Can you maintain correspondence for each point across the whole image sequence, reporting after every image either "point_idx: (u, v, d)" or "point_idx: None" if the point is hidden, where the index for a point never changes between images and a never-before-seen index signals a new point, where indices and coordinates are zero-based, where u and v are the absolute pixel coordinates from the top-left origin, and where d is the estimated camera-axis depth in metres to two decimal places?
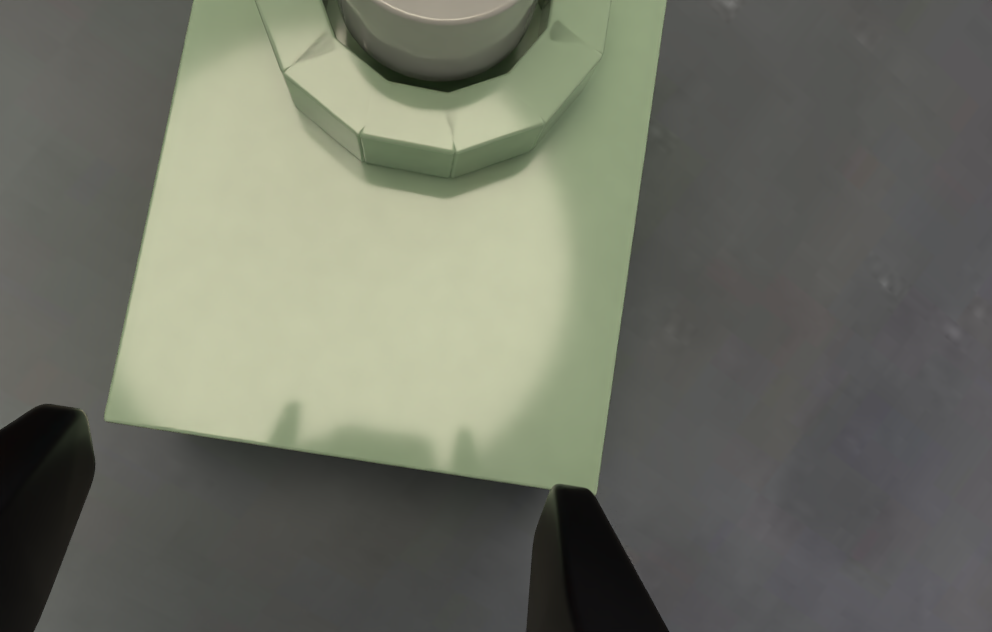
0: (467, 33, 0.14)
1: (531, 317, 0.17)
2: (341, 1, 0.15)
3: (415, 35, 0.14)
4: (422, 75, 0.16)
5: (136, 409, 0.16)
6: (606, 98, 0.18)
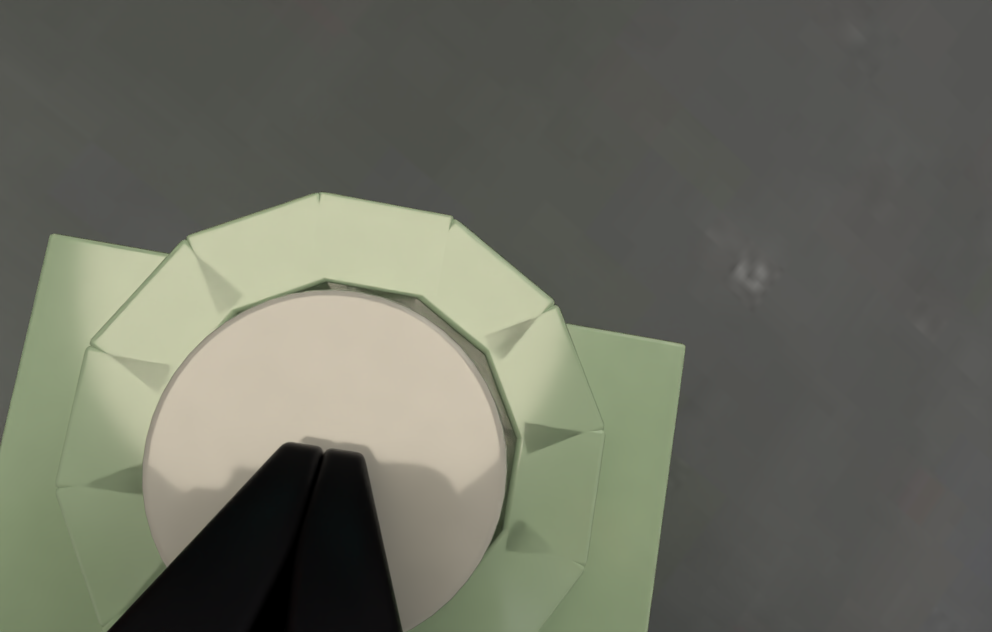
0: None
1: None
2: None
3: None
4: None
5: None
6: (593, 555, 0.13)
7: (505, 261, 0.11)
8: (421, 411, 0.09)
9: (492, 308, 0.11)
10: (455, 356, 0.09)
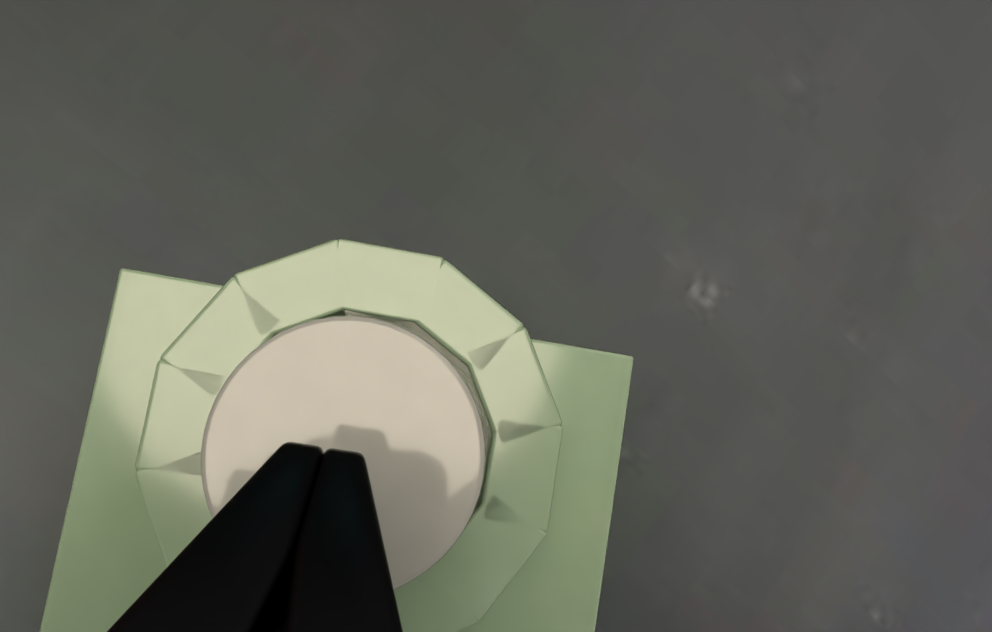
0: None
1: None
2: None
3: None
4: None
5: None
6: (557, 527, 0.16)
7: (484, 293, 0.14)
8: (417, 410, 0.12)
9: (474, 330, 0.14)
10: (444, 368, 0.12)
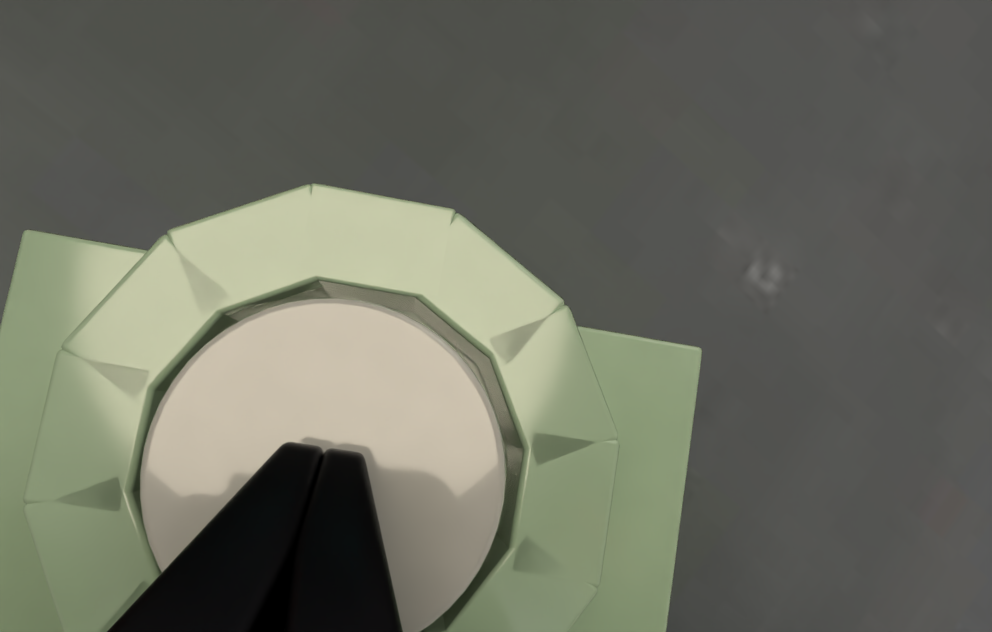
0: None
1: None
2: None
3: None
4: None
5: None
6: (604, 574, 0.12)
7: (511, 258, 0.10)
8: (420, 419, 0.09)
9: (497, 309, 0.10)
10: (454, 364, 0.09)
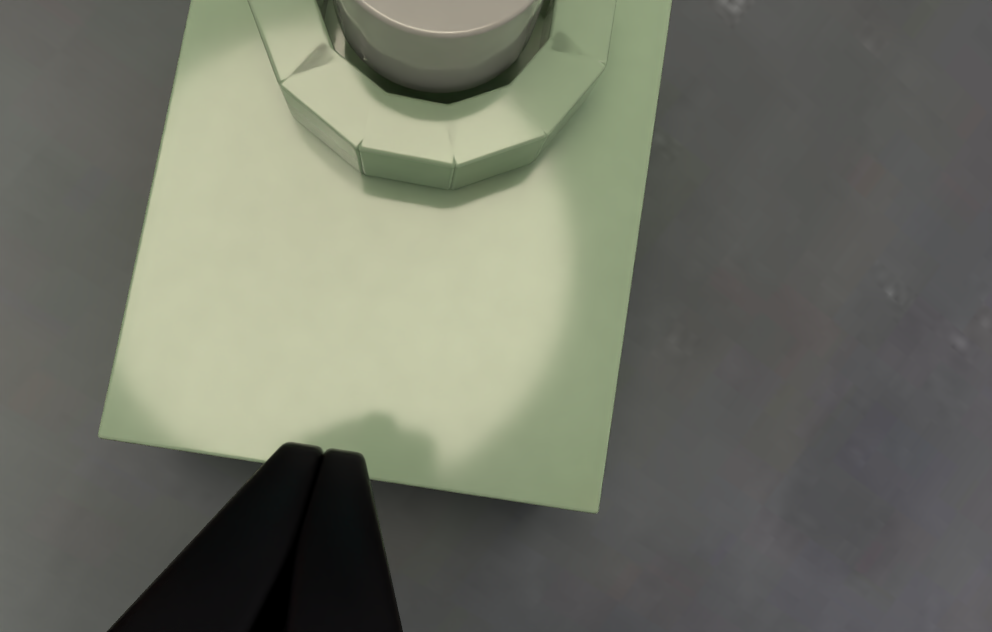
0: (468, 47, 0.14)
1: (532, 332, 0.17)
2: (339, 12, 0.14)
3: (414, 48, 0.14)
4: (422, 87, 0.15)
5: (131, 425, 0.16)
6: (609, 108, 0.17)
7: None
8: None
9: None
10: None
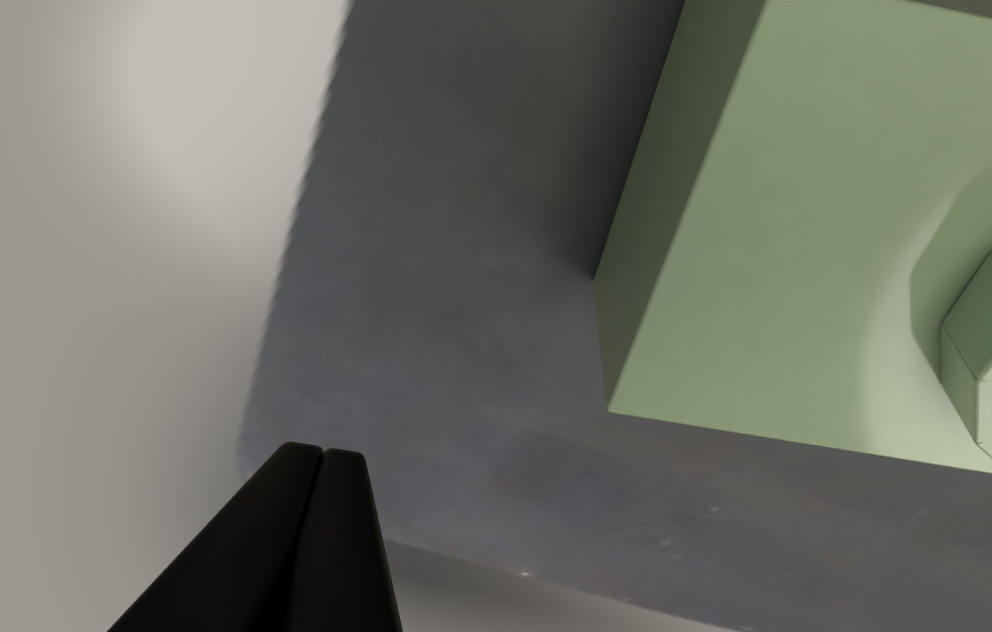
0: None
1: (779, 376, 0.18)
2: None
3: None
4: None
5: (781, 14, 0.13)
6: (967, 438, 0.19)
7: None
8: None
9: None
10: None
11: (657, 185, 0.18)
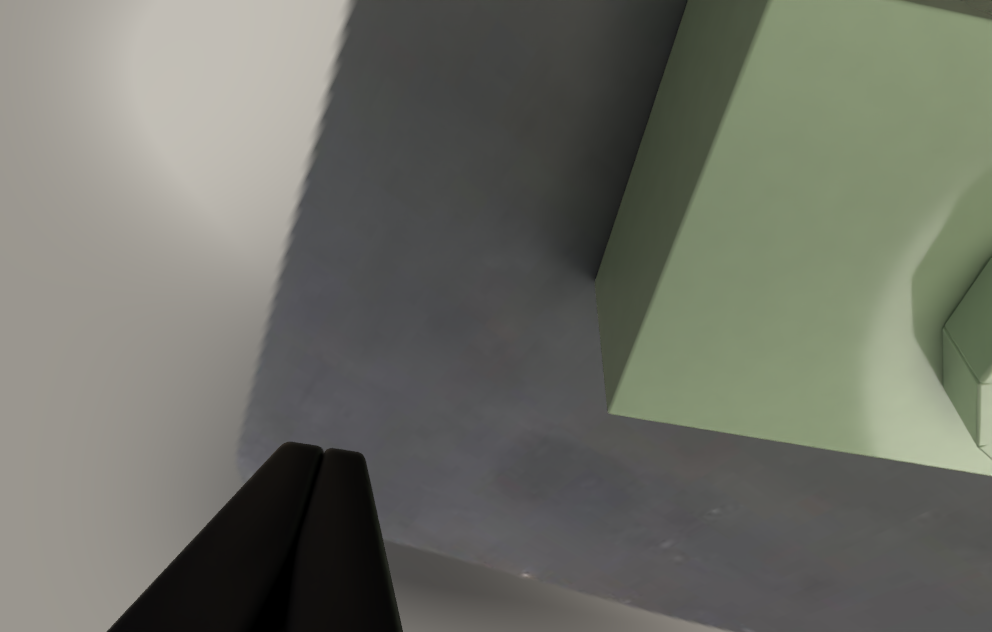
0: None
1: (781, 379, 0.18)
2: None
3: None
4: None
5: (783, 16, 0.13)
6: (969, 441, 0.19)
7: None
8: None
9: None
10: None
11: (659, 186, 0.18)
